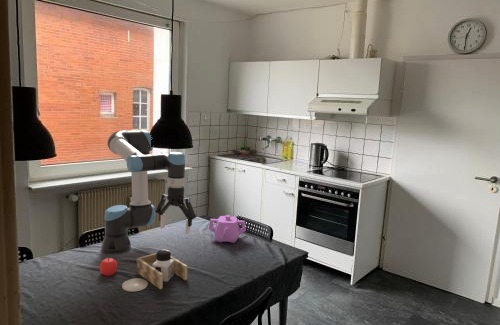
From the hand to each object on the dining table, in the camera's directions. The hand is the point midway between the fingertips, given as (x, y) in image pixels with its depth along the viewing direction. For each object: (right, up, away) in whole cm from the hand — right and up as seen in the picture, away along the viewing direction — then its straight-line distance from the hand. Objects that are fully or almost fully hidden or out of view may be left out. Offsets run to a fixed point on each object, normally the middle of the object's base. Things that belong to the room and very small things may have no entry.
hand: (175, 230), depth 177 cm
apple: (-32, -21, +3) cm, 39 cm away
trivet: (-17, -24, -7) cm, 30 cm away
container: (-6, -23, +2) cm, 24 cm away
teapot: (+21, -15, +52) cm, 59 cm away
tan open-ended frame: (-7, -22, +3) cm, 23 cm away
